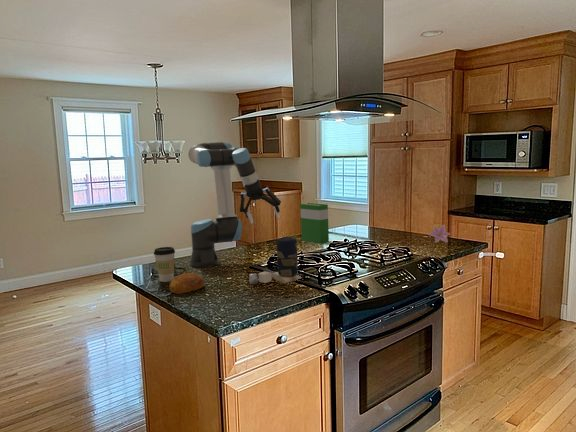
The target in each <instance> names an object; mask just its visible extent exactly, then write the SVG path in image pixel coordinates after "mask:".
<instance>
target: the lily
mask: <svg viewBox="0 0 576 432" xmlns="http://www.w3.org/2000/svg"><path fill="white" fill-rule="evenodd" d="M432 229H433V231H431V232H428V233H427V234H428V236H431V237H434V242H435V243H438V242H439V241H443V242H444V243H448V242H449V241H448V238H447V236H449V235H451V233H450V232H447V231H446V225H445V224H443V225H442V224H441V226H440V227H437V226H433V227H432Z"/></svg>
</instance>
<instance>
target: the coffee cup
mask: <svg viewBox="0 0 576 432" xmlns="http://www.w3.org/2000/svg"><path fill="white" fill-rule="evenodd" d="M175 253H176V250H175V248H174V247H172V246H162V247H161V246H160V247H156V248H155V249H154V252H153V255H154V258H155V265H156V270H157V274H158V279H159V282H162V283H167V282H169V283H170V281H171V280H172V279H173V278H174V277H175V276H174V273H175V258H176V257H175Z"/></svg>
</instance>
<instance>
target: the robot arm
mask: <svg viewBox="0 0 576 432" xmlns="http://www.w3.org/2000/svg"><path fill="white" fill-rule="evenodd" d="M188 159H189V161H191V162H192V163H193V164H195V165H198V167H201V168H202V167H204V168H208V167H210V168H211V170H212V171H213V173H214V174H213V175H214V183H215V184H214V185H215V195H216V207H217V216H216V218H215V221H214V220H213V219H211V218H208V219H201V220H197V221H195V222H193V223H192V224H191V225H190V235H191V247H192V251H191V255H190V259H189V265H190V267H193V268H206V267H212V266H215V265H216V266H217V265H218V264H219V263H220V261H219V260H220V259H219V256H218V255H217V252H216V248H215V244H221V243H223V244H224V243H233V242H238V241H239V240H240V239H241V236H242V230H243V229H242V228H243V225H242V221H241V219H239V217H238V215H237V214H236V213H235V207H234V206H235V205H234V199H233V189H232V188H233V187H232V179H231V177H232V176H231V169H232V168H233V166H234V167H235V168H236V170H237V172H238V174H239V177H240V179H241V184H243V185H242V186H243V188H244V190H245V191H242V192H241V193H240V195H239V196H240V198H241V199H240V206H239V212H240V213H244V215H245V218H246V219H248V221H249V223H250V225H253V224H254V219H253V215H252V214H251V210H250V209H249V207H250V205H251V203H252V201H257V200H258V201H259V200H262V201H265V202H267V203H268V204H270V205H271V206H272V207H273V211H274V214H275V216H276V219H277V220H280V218H281V215H280V211H281V209H280V205H281V203H282V201H281V200H280V199H279V198H278V197H277V195H275V194H274V192H273V191H272V190H271V189H270V187H269V186H266V188H263V187H262V184H261V182H260V179H259V176H258V173H257V171H256V168H255V165H254V163H253V160H252V157H251V153H250V152H249V150H248V149H247V148H246V147H241V148H240V147H237V146H233V145H232V144H231V143H230V142H223V141H222V142H221V141H220V142H219V141H218V142H200V143H196V144H195V145H192V146H191V147H190V149H189V150H188ZM246 197H247V198H248V201H247V203H246V205H245V199H246Z"/></svg>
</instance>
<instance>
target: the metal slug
mask: <svg viewBox="0 0 576 432" xmlns="http://www.w3.org/2000/svg"><path fill="white" fill-rule="evenodd" d="M248 276H249V277H248V278H249V279H248V280H249V285H257V284H259V283H258V282H259V278H258V273H249V274H248Z"/></svg>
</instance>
